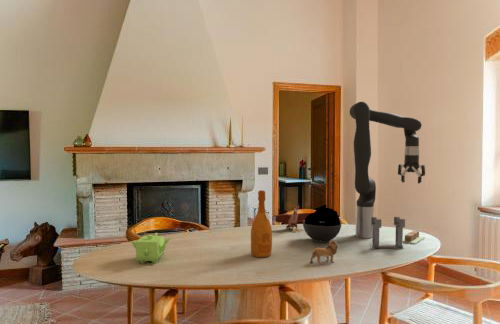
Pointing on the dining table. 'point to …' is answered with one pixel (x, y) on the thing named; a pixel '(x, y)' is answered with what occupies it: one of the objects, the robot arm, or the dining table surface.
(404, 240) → the sage mat
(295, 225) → the decorative bird
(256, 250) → the wine bottle
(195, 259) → the dining table surface
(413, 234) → the walnut rail
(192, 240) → the dining table surface
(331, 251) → the lion figurine
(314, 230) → the bowl of black rocks
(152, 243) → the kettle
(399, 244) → the cradle stand
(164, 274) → the dining table surface
